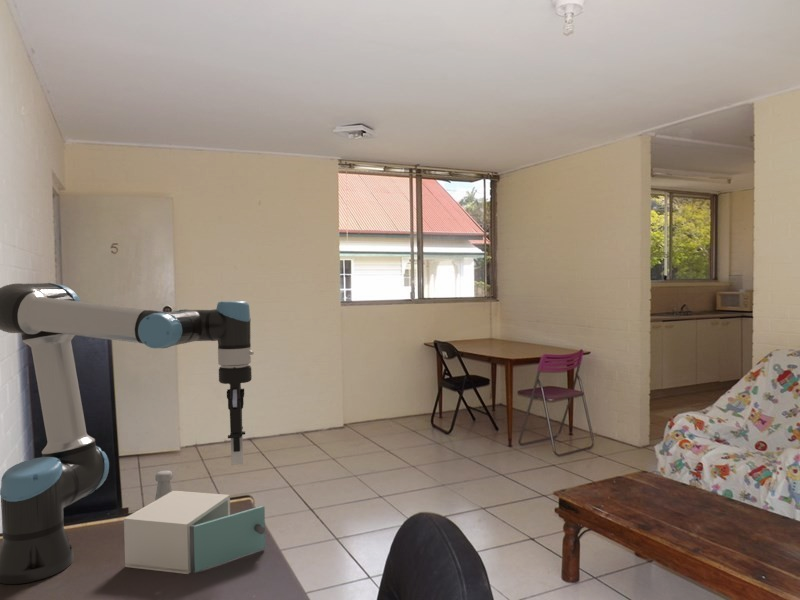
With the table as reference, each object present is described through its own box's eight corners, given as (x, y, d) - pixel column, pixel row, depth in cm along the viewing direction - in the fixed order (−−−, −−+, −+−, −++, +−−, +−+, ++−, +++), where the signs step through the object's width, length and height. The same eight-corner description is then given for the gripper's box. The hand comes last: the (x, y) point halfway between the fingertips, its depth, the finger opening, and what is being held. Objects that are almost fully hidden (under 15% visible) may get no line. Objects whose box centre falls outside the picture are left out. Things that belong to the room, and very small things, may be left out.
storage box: (125, 566, 130) (123, 518, 130) (174, 533, 147) (173, 490, 147) (188, 574, 126) (187, 524, 126) (230, 538, 144) (229, 494, 143)
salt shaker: (162, 514, 160) (161, 467, 160) (180, 515, 159) (179, 468, 158) (149, 522, 154) (147, 474, 154) (168, 524, 153) (167, 475, 153)
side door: (189, 571, 126) (188, 525, 126) (262, 546, 138) (261, 504, 138) (196, 577, 124) (195, 531, 123) (270, 551, 135) (269, 509, 135)
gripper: (250, 368, 132) (253, 470, 133) (251, 361, 145) (253, 454, 145) (216, 370, 130) (219, 473, 131) (220, 362, 143) (222, 457, 144)
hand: (237, 463), depth 138 cm, fingers closed
